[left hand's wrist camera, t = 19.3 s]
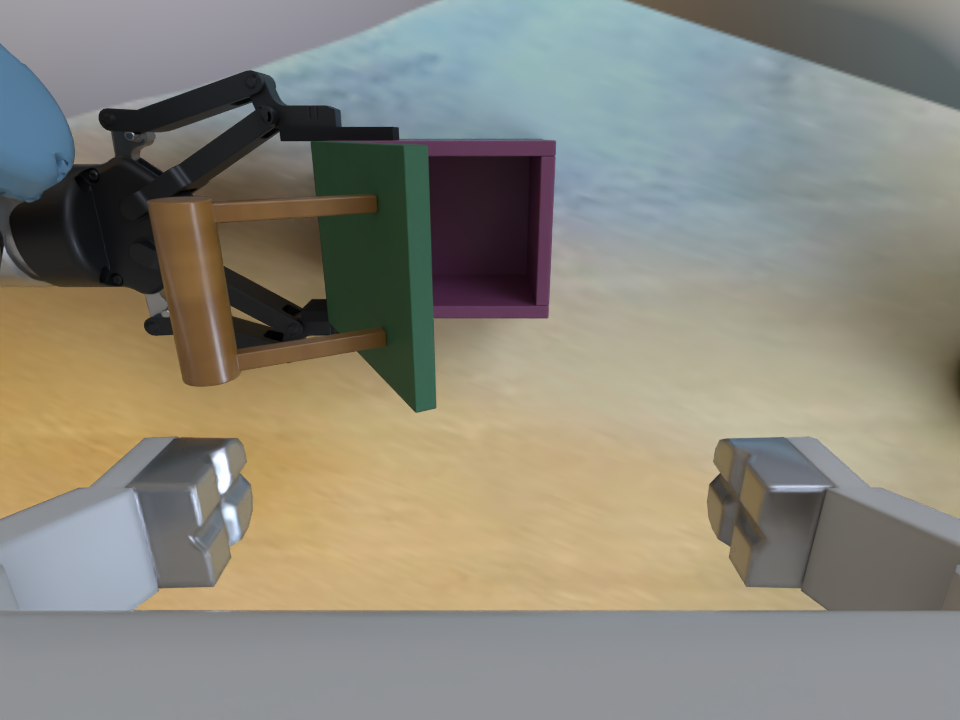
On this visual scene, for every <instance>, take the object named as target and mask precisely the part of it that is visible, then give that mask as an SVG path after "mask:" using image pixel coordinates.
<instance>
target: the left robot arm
mask: <svg viewBox="0 0 960 720" xmlns="http://www.w3.org/2000/svg"><path fill="white" fill-rule="evenodd" d="M246 462H247V460H246V455H245V450H244V445H243V444H242V443H241V441H240V440H239V439H238V438H188V437H181V438H179V437H152V438H144V439H143V440H142V441H141V442H140V443H138V444H137V445H136V446H135V447H134V448H133V449H132V450H131V451H129V452H128V453H127V454H126V455H125V456H124V457H123V458H122V459H120V460H119V461H118V462H117V463H116V464H115V465H114V466H113V467H112V468H110V469H109V470H108V471H107V472H106V473H105V474H104V475H103V476H101V477H100V478H99V479H98V480H97V481H96V482H95V483H94V484H92V485H91V486H90V487H89V488H77V489H75V490H72V491H70V492H67V493H65V494H62V495H60V496H57V497H55V498H52V499H50V500H47V501H45V502H42V503H40V504H37V505H35V506H32V507H30V508H27V509H25V510H22V511H19V512H17V513H14V514H12V515H9V516H7V517H4V518H2V519H0V720H960V519H958V518H955V517H953V516H950V515H948V514H945V513H943V512H940V511H938V510H935V509H933V508H930V507H928V506H925V505H923V504H920V503H918V502H915V501H913V500H910V499H908V498H905V497H903V496H900V495H898V494H895V493H893V492H890V491H888V490H885V489H883V488H871V487H870V486H869V485H868V484H866V483H865V482H864V481H863V480H862V479H861V478H860V477H859V476H858V475H856V474H855V473H854V472H853V471H852V470H851V469H850V468H849V467H847V466H846V465H845V464H844V463H843V462H842V461H841V460H840V459H839V458H837V457H836V456H835V455H834V454H833V453H832V452H831V451H830V450H829V449H827V448H826V447H825V446H824V445H823V444H822V443H821V442H820V441H818V440H817V439H815V438H812V437H788V438H784V437H772V438H730V439H722V440H719V442H718V444H717V446H716V449H715V454H714V460H713V462H714V464H715V466H716V467H717V469H718V470H719V472H720V474H719V475H718V476H717V477H716V478H715V479H714V480H713V481H712V482H711V483H710V484H709V490H708V498H707V506H708V517H709V520H710V523H711V527H712V529H713V531H714V533H715V535H716V536H717V538H718V539H719V540H720V541H722V542H724V543H725V544H727V545H728V546H730V547H731V548H730V553H729V559H730V560H731V562H732V564H733V565H734V567H735V569H736V570H737V572H738V574H739V575H740V577H741V579H742V580H743V582H744V584H745V585H746V587H774V588H802V589H801V591H802V592H804V593H805V594H806V595H808V596H809V597H810V598H812V599H813V600H814V601H816V602H817V603H819V604H820V605H821V606H823V607H824V608H825V609H827V610H828V611H626V610H625V611H623V610H622V611H620V610H619V611H618V610H610V611H609V610H134V609H135V608H136V607H138V606H139V605H140V604H142V603H143V602H144V601H146V600H147V599H148V598H150V597H151V596H153V595H154V594H155V593H157V592H158V591H159V589H158V588H185V587H214V586H215V584H216V582H217V581H218V579H219V577H220V575H221V574H222V572H223V570H224V569H225V567H226V565H227V564H228V562H229V560H230V559H231V553H230V548H229V547H230V546H232V545H233V544H235V543H236V542H238V541H240V540H241V539H242V538H243V536H244V535H245V533H246V531H247V529H248V527H249V523H250V519H251V515H252V510H253V496H252V490H251V484H250V483H249V482H248V481H247V480H246V479H245V478H244V477H243V476H242V475H241V474H240V472H241V470H242V469H243V467H244V466H245V464H246Z"/></svg>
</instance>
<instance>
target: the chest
mask: <svg viewBox="0 0 960 720" xmlns="http://www.w3.org/2000/svg"><path fill="white" fill-rule="evenodd" d="M340 142H366V143H392V144H419V145H428V163H429V194H430V226H431V257H432V289H433V318H548V316H549V306H548V305H549V293H550V270H551V247H552V223H553V200H554V177H555V155H556V141H554V140H544V139H399V140H393V141H340Z"/></svg>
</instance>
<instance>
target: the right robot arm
mask: <svg viewBox="0 0 960 720" xmlns="http://www.w3.org/2000/svg"><path fill="white" fill-rule="evenodd" d="M249 103H253V105H254V107H255V109H256V110H255V111H254V112H253V113H251V114H250V115H248V116H247V117H245V118H244V119H243V120H241V121H240V122H238V123H237V124H236V125H234V126H233V127H231V128H230V129H228V130H227V131H226V132H224V133H223V134H221V135H220V136H219V137H217V138H216V139H214V140H213V141H212V142H210V143H209V144H207V145H206V146H204V147H203V148H202V149H200V150H199V151H197V152H196V153H195V154H193V155H192V156H190V157H189V158H188V159H186V160H185V161H183V162H182V163H180V164H179V165H177V166H175V167H172V168H170V169H169V170H167V171H166V172H164V173H163V172H162V171H160V170H159V169H157V168H156V167H154V166H153V165H151V164H150V163H148V162H147V161H145V160H144V159H142V158H140V151H141V149H142V148H144V147H146V146H150V145H151V144H153V142H154V140H155V137H156V136H155V133H154V132H166V131H171V130H174V129H177V128H180V127H183V126H186V125H189V124H192V123H195V122H197V121H200V120H203V119H206V118H209V117H212V116H215V115H217V114H220V113H223V112H226V111H229V110H232V109H234V108H237V107H240V106H243V105H246V104H249ZM99 121H100V124H101V125H102V126H103V128H105V129H106V130H109V131H111V134H112V140H113V146H114V152H115V157H114V158H112V159H111V160H109V161H108V162H106V163H104V164H73V162H74V157H75V148H74V141H73V137H72V134H71V131H70V128H69V125H68V123H67V121H66V119H65V116H64V114H63V113H62V111H61V109H60V107H59V105H58V104H57V102H56V101H55V99H54V98H53V96H52V95H51V94H50V92H49V91H48V90H47V88H46V87H45V86H44V85H43V83H42V82H41V81H40V80H39V79H38V78H37V76H36V75H35V74H34V73H33V72H32V71H31V70H30V69H29V68H28V67H27V66H26V65H25V64H23V63H21V62H20V61H19V60H18V59H17V58H16V57H14V56H13V55H12V54H11V53H10V52H9V51H8V50H6V48H4V47H3V46H2V45H1V44H0V287H49V286H54V285H55V286H60V287H128V288H132V289H134V290H136V291H138V292H140V293H143V294H145V297H146V301H147V305H148V309H149V312H150V316H151V317H150V318H148V319H147V320H146V321H145V323H144V328H145V330H146V331H147V332H148V333H149V334H151V335H155V336H157V335H173V330H172V325H171V320H170V315H169V310H168V305H167V300H166V295H165V290H164V286H163V281H162V276H161V271H160V266H159V261H158V256H157V251H156V246H155V241H154V236H153V231H152V227H151V222H150V217H149V212H148V207H147V201H148V200H152V199H158V198H168V197H194V196H193V193H194V192H196V191H197V190H199V189H200V188H202V187H203V186H204V185H206V184H207V183H208V182H209V180H211V179H212V178H213V177H215V176H216V175H218V174H219V173H221V172H222V171H224V170H225V169H226V168H228V167H229V166H231V165H232V164H234V163H235V162H237V161H238V160H239V159H241V158H242V157H244V156H245V155H247V154H248V153H250V152H251V151H252V150H254V149H255V148H257V147H258V146H260V145H261V144H263V143H264V142H265V141H267V140H268V139H270V138H271V137H273V136H274V135H276V134H277V133H278V132H280V139H281V141H393V140H399V127H342V125H341V113H340V110H338V109H336V108H334V107H331V106H288V105H286V104H284V103H283V102H282V101H281V99H280V97H279V95H278V93H277V91H276V84H275V81H274V80H273V78H272V77H270V76H269V75H266V74H262V73H259V72H255V71H251V70H250V71H245V72H242V73H239V74H236V75H234V76H231V77H228V78H225V79H222V80H220V81H217V82H214V83H211V84H208V85H206V86H203V87H200V88H197V89H194V90H192V91H189V92H186V93H183V94H180V95H178V96H175V97H172V98H169V99H166V100H164V101H161V102H158V103H155V104H152V105H150V106H147V107H144V108H141V109H138V110H127V109H109V108H107V109H103V110H102V111H100V113H99ZM224 272H225V278H226V284H227V290H228V296H229V302H230V305H231V306H232V307H234V308H236V309H238V310H240V311H242V312H244V313H246V314H248V315H250V316H252V317H253V318H255V319H257V320H259V321H261V322H263V323H265V324H267V325H269V326H271V327H269V326H265V325H261V324H258V323H254V322H251V321H247V320H244V319H240V318H236V317H233V316H232V321H233V327H234V333H235V339H236V345H237V349H242V348H249V347H255V346H262V345H268V344H275V343H281V342H288V341H294V340H301V339H306V336H310V335H333V334H340V333H339V332H338V331H337V330H336V329H335V328H334V327H333V326H332V325H331V324H330V323H329V320H328V310H327V300H326V299H312V300H311V301H310V302H309V303H308V304H307V305H306V306H305V307H304V308H301V307H299V306H297V305H295V304H294V303H292V302H290V301H288V300H286V299H284V298H282V297H281V296H279V295H277V294H275V293H273V292H271V291H269V290H267V289H266V288H264V287H262V286H260V285H258V284H256V283H254V282H253V281H251V280H249V279H247V278H245V277H243V276H241V275H240V274H238V273H236V272H234V271H232V270H230V269H228V268H227V267H225V266H224ZM289 363H291V362H289Z"/></svg>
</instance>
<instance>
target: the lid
mask: <svg viewBox="0 0 960 720" xmlns="http://www.w3.org/2000/svg"><path fill="white" fill-rule="evenodd" d="M311 150H312V160H313V170H314V180H315V190H316V197H296V198H275V199H254V200H233V201H213V199H212V198H209V197H168V198H158V199H152V200H148V201H147V207H148V212H149V217H150V222H151V227H152V231H153V236H154V241H155V246H156V251H157V256H158V261H159V266H160V271H161V276H162V281H163V286H164V290H165V295H166V300H167V305H168V310H169V315H170V320H171V325H172V330H173V335H174V340H175V345H176V349H177V354H178V359H179V364H180V369H181V374H182V379H183V382H184V383H185V384H187V385H190V386H198V387H204V386H213V385H219V384H223V383H226V382H229V381H231V380H233V379H235V378H237V377H238V376H239V375H240V372H241V371H242V370H248V369H254V368H260V367H265V366H271V365H277V364H283V363H289V362H295V361H301V360H307V359H313V358H319V357H325V356H331V355H337V354H343V353H348V352H354V351H357V352H358V353H359V354H360V355H361V356H362V357H363V358H364V359H365V360H366V361H367V362H368V363H369V364H370V365H371V366H372V368H373V369H374V370H375V371H376V372H377V373H378V374H379V375H380V376H381V377H382V378H383V379H384V380H385V381H386V382H387V383H388V384H389V385H390V386H391V387H392V388H393V389H394V390H395V392H396V393H397V394H398V395H399V396H400V397H401V398H402V399H403V400H404V401H405V402H406V403H407V404H408V405H409V406H410V407H411V408H412V409H413V410H414V411H415V412H416V413H417V412H422V411H426V410H431V409H435V408H436V383H435V352H434V320H433V289H432V257H431V226H430V194H429V163H428V145H419V144H392V143H366V142H340V141H311ZM305 217H318V220H319V230H320V240H321V250H322V260H323V270H324V280H325V290H326V300H327V310H328V320H329V323H330V324H331V325H332V326H333V327H334V328H335V329H336V330H337V331H338V332H339V333H340V334H333V335H327V336H320V337H314V338H307V339H301V340H294V341H288V342H281V343H275V344H268V345H262V346H255V347H249V348H242V349H237V345H236V339H235V333H234V327H233V321H232V315H231V309H230V302H229V296H228V290H227V284H226V278H225V272H224V266H223V260H222V253H221V247H220V241H219V235H218V229H217V223H226V222H241V221H257V220H273V219H289V218H305Z"/></svg>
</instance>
